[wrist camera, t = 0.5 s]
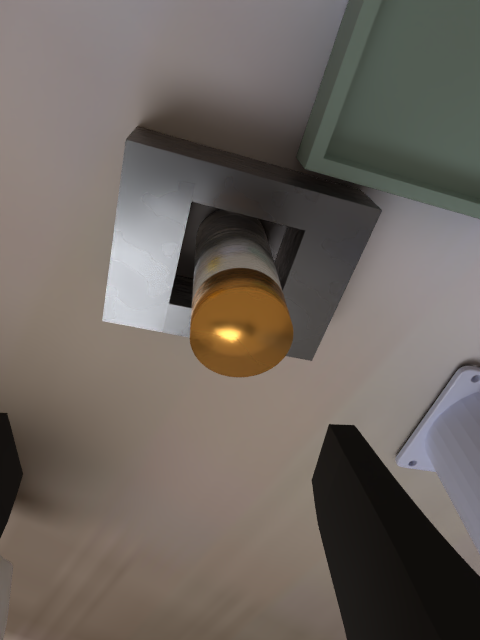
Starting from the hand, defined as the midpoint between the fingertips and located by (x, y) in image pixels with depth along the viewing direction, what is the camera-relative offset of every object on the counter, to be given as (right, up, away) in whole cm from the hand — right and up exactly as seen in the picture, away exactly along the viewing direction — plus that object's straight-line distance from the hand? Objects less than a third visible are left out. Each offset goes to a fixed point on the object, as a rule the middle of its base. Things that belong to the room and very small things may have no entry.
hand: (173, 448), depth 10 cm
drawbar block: (+1, +6, +8) cm, 10 cm away
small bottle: (+1, +6, +8) cm, 10 cm away
